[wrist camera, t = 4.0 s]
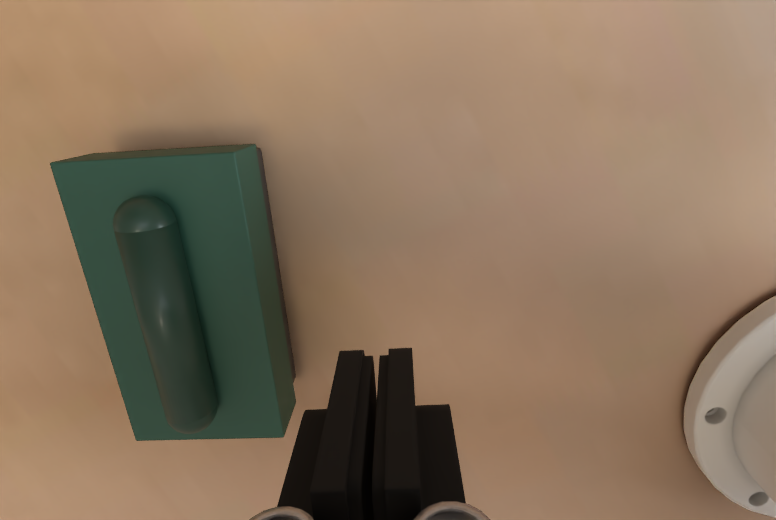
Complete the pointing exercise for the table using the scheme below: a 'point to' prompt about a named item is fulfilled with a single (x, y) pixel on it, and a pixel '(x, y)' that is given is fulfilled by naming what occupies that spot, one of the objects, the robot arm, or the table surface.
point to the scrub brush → (185, 287)
